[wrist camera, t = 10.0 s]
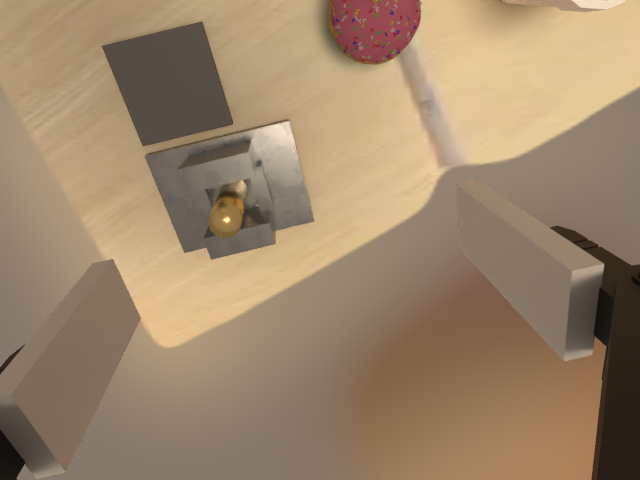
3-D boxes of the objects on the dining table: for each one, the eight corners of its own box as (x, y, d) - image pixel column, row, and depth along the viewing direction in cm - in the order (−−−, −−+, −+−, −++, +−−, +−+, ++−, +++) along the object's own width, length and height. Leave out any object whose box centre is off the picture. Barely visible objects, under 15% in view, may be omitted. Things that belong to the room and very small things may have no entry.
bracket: (147, 154, 45) (126, 170, 39) (288, 119, 45) (291, 130, 39) (186, 249, 50) (173, 277, 44) (313, 218, 50) (318, 242, 44)
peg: (217, 180, 46) (203, 211, 37) (243, 174, 46) (236, 204, 37) (225, 205, 48) (214, 241, 38) (250, 199, 48) (245, 233, 38)
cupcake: (307, -1, 41) (319, -20, 30) (382, -53, 40) (423, -92, 29) (349, 79, 44) (373, 87, 33) (419, 34, 43) (468, 27, 32)
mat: (103, 46, 41) (102, 46, 40) (202, 22, 41) (201, 21, 40) (144, 145, 45) (142, 146, 44) (233, 123, 45) (232, 124, 44)
